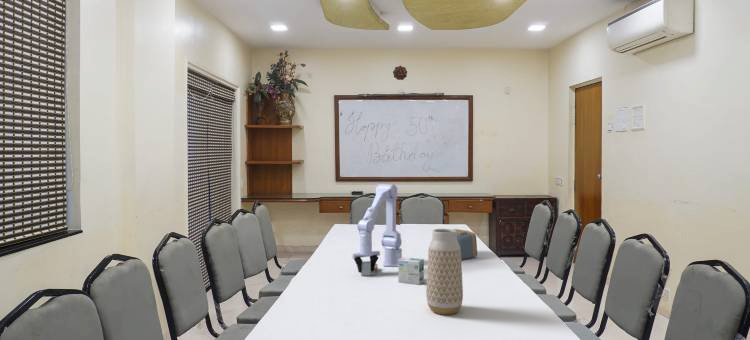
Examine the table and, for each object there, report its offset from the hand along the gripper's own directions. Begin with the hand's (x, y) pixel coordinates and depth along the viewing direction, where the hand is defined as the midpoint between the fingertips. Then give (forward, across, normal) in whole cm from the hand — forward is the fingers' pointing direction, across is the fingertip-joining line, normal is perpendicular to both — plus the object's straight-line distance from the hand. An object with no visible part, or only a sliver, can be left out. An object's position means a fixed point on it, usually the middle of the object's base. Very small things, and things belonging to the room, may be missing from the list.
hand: (366, 271), depth 226 cm
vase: (+2, -4, +60) cm, 60 cm away
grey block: (+2, 0, 0) cm, 2 cm away
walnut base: (+2, -5, -6) cm, 8 cm away
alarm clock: (+2, -64, -10) cm, 65 cm away
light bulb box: (+2, -13, +21) cm, 25 cm away
